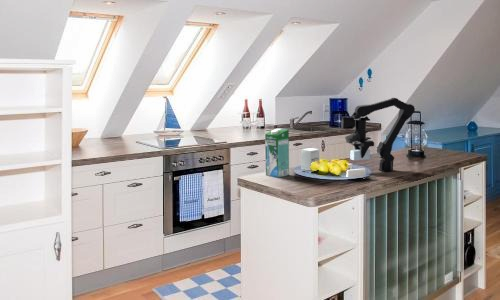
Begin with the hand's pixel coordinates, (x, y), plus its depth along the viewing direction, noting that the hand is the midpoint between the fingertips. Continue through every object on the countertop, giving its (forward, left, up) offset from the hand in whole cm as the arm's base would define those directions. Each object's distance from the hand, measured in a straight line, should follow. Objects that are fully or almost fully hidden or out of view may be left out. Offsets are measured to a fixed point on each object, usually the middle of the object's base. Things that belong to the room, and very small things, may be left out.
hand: (360, 157), depth 264 cm
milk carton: (+45, -10, -8) cm, 47 cm away
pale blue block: (0, 0, -1) cm, 1 cm away
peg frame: (+11, +8, -8) cm, 16 cm away
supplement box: (+25, -11, -8) cm, 28 cm away
